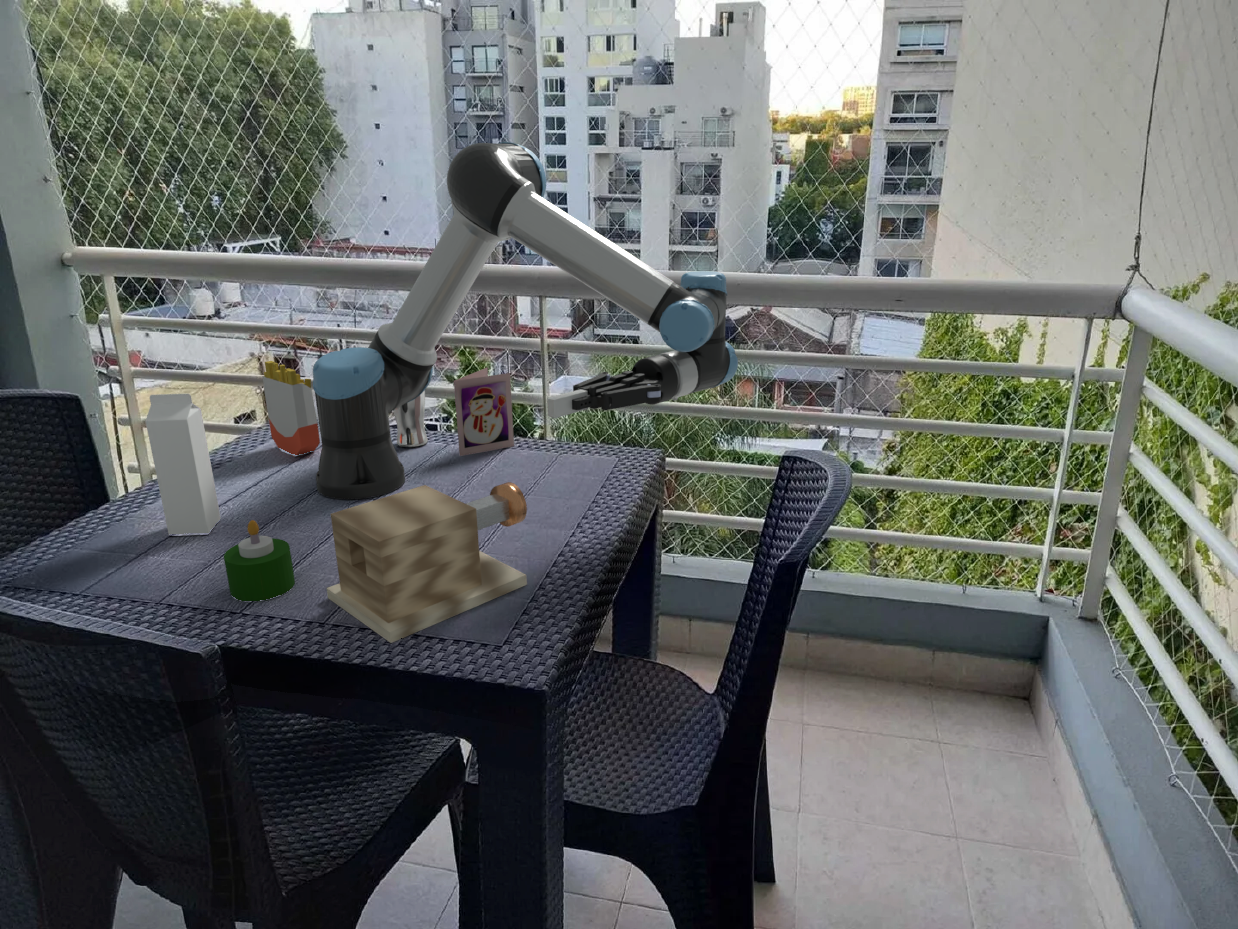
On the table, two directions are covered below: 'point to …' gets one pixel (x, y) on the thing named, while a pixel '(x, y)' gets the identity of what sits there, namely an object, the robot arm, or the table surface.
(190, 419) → the milk
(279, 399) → the french fries container
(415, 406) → the beer glass
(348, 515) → the press block
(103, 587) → the table surface
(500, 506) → the door knob
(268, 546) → the candle
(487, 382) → the greeting card
